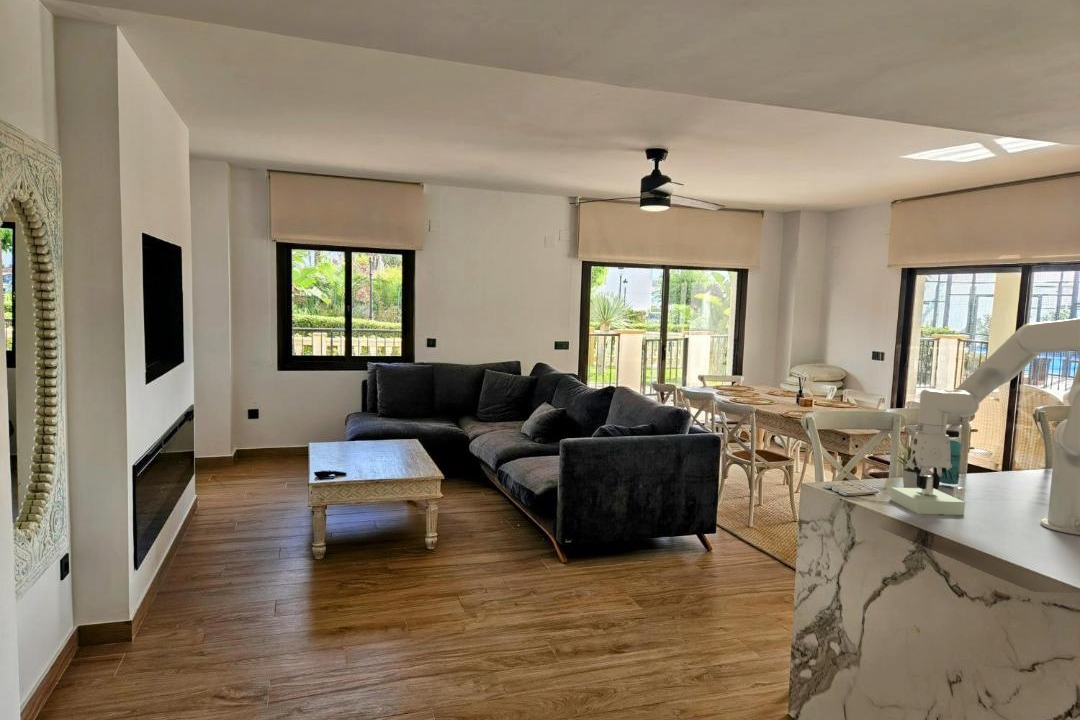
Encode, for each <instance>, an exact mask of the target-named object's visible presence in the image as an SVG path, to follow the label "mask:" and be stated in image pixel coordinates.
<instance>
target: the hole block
mask: <svg viewBox="0 0 1080 720" xmlns="http://www.w3.org/2000/svg"><path fill="white" fill-rule="evenodd" d="M890 500H891V501H892V502H894V503H896V504H898V505H900V506H902V507H904V508H906V509H907V510H909V511H911V512H913V513H915V514H917V515H939V514H944V515H946V516H964V515H965V506H966V502H965V500H964V501H961V500H959V499H957V498H954V497H953V495H949V494H947V493H945V492H943V491H940V490H939V489H934V488H933V497H928V496H922V489H921V488H904V487H891V488H890ZM944 515H943V516H944Z"/></svg>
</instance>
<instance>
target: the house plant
mask: <svg viewBox="0 0 1080 720" xmlns="http://www.w3.org/2000/svg"><path fill="white" fill-rule="evenodd" d="M911 443H912V444H913V441H911ZM893 446H895V447H896V448H898V446H896V445H894V444H893ZM905 446H906V449H907V452H906V451H905V450H903V449H901V448H899V450H900V451H901V452H902V454H903V455H904V457H905V458H906V459H904V458H903V457H901V456H899V455H897V457H898V458H899V459H900V460H899V459H896V460H895V461H896V462H899V463H901V464H902V465H903V466H904V467H905V468H901V473H902V483H903V488H919V487H917V484H916V482H917V474H916V473H915V472H914V471H913V469H911V468H910V467H908V466H907V463H908V461H909V460H910V458H911V450H912V447H910V446H909V445H908V443H906V445H905ZM902 461H903V462H902ZM914 465H915V466H917V464H914ZM924 475H926V472H925V473H924Z"/></svg>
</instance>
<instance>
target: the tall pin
mask: <svg viewBox="0 0 1080 720" xmlns="http://www.w3.org/2000/svg"><path fill="white" fill-rule="evenodd" d="M924 476H925V477H926V481H925V489H922V496H928V497H933V489H934V488H933V486H934V476H931V475H930V474H925V475H924Z"/></svg>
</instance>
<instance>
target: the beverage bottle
mask: <svg viewBox="0 0 1080 720" xmlns="http://www.w3.org/2000/svg"><path fill="white" fill-rule="evenodd" d="M946 435H948V436H949V441H950V463H951V465H952V468H950V469H948V470H946V471H945V472H944V473H943V474H942V476H941V477H940V482H939V483H942V484H946V485H954V486H955V485H959V482H960V473H961V469H960V468H961V459H962V457H961V456H962V446H963V444H962V443H961V441H959V440H958V439H950V438H960V431H959V430H954V429H946Z"/></svg>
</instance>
